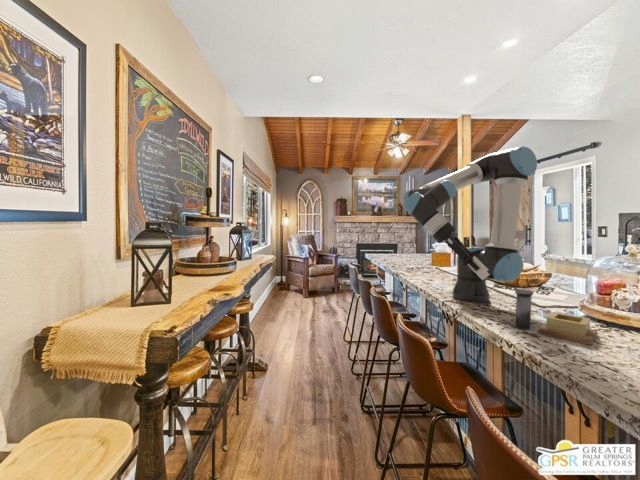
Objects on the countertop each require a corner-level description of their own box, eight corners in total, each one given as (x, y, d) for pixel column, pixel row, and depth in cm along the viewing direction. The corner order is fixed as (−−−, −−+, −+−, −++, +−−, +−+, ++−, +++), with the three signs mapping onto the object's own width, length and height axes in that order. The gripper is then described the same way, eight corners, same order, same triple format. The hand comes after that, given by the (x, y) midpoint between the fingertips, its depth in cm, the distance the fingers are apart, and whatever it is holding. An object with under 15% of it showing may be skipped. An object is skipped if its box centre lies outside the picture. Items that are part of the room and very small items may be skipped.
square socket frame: (552, 322, 100) (553, 312, 100) (589, 330, 93) (590, 318, 93) (546, 329, 94) (546, 317, 94) (585, 337, 87) (585, 324, 87)
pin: (516, 324, 103) (517, 288, 103) (533, 327, 100) (535, 290, 99) (511, 327, 100) (513, 290, 99) (529, 331, 96) (531, 292, 96)
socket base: (548, 325, 102) (548, 320, 102) (596, 335, 93) (597, 330, 93) (538, 333, 94) (539, 328, 94) (590, 345, 85) (591, 339, 85)
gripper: (436, 235, 122) (476, 276, 116) (426, 236, 100) (476, 287, 94) (451, 222, 120) (493, 263, 114) (444, 220, 98) (497, 271, 91)
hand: (485, 274), depth 104 cm, fingers open, 13 cm apart
